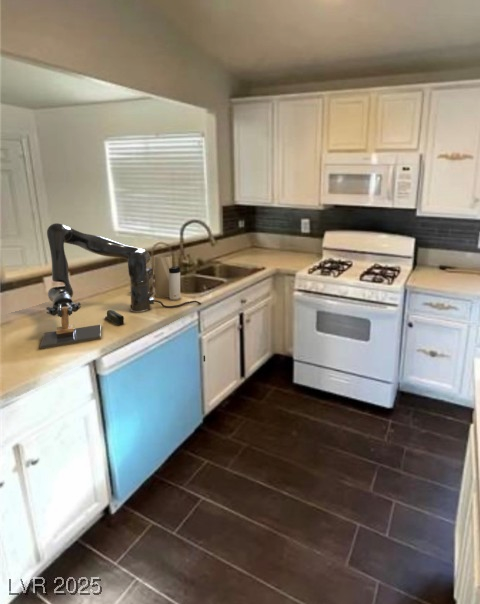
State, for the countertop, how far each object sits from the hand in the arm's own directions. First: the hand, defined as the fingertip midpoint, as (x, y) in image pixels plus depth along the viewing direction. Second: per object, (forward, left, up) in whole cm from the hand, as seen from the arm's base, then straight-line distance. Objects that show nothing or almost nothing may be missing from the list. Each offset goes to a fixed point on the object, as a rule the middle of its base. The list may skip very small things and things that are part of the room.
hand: (65, 314), depth 155 cm
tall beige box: (-47, -47, -13) cm, 67 cm away
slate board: (-2, -3, -13) cm, 13 cm away
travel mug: (-52, -37, -13) cm, 65 cm away
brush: (+1, -3, -11) cm, 11 cm away
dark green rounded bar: (-19, -15, -13) cm, 27 cm away
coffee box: (-37, -52, -13) cm, 65 cm away
